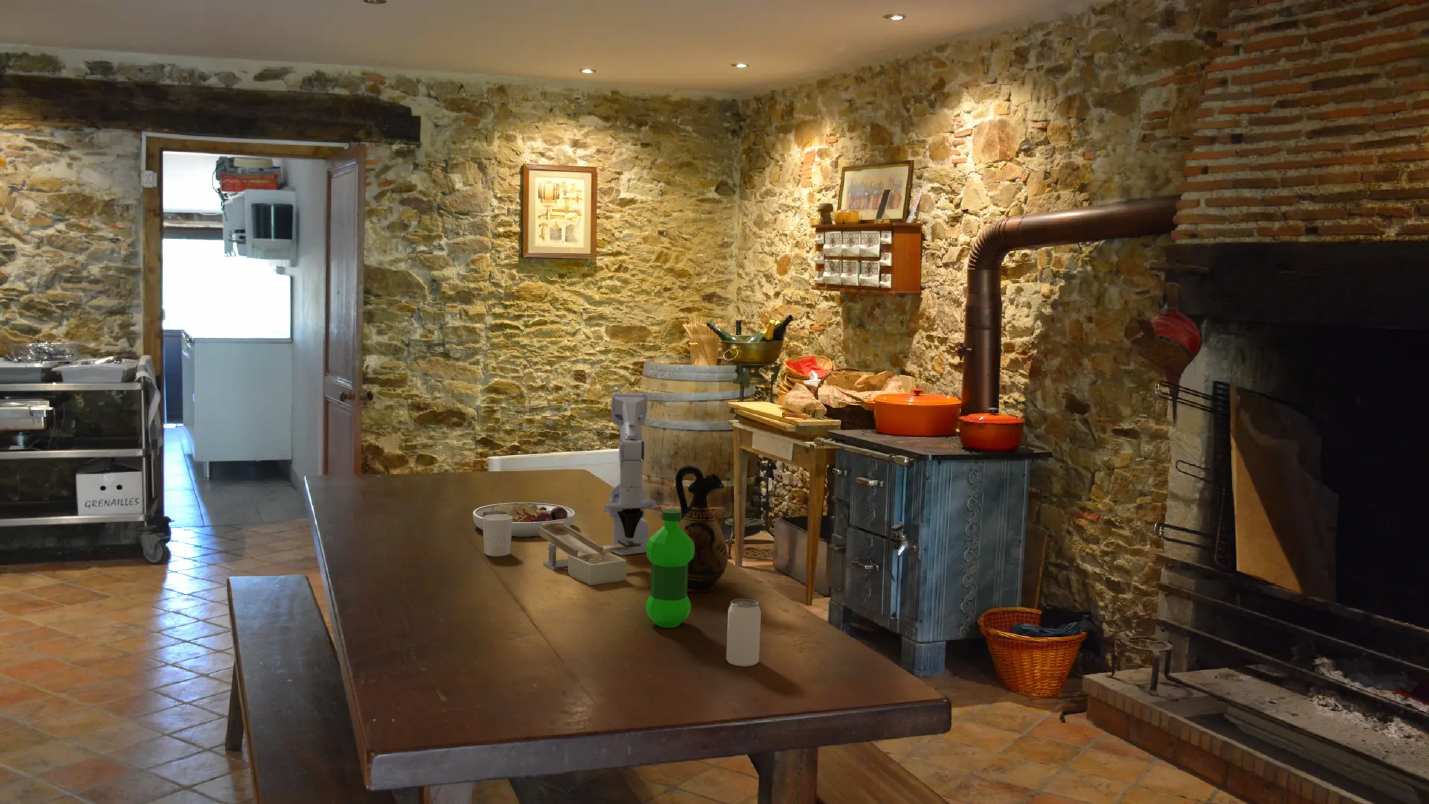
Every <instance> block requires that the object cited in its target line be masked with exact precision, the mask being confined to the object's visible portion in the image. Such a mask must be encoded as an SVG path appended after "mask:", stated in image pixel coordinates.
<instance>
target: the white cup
mask: <svg viewBox="0 0 1429 804" xmlns="http://www.w3.org/2000/svg"><path fill="white" fill-rule="evenodd" d="M512 520H513V517H512V516H510V515H504V514H491V515H486V516H483V530H482V535H483V538H482V539H483V547H484V549H483V550H484V551H483V553H484V555H485V554H486V556H489V557H504V556H509V555H510V553H511V543H512Z"/></svg>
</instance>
